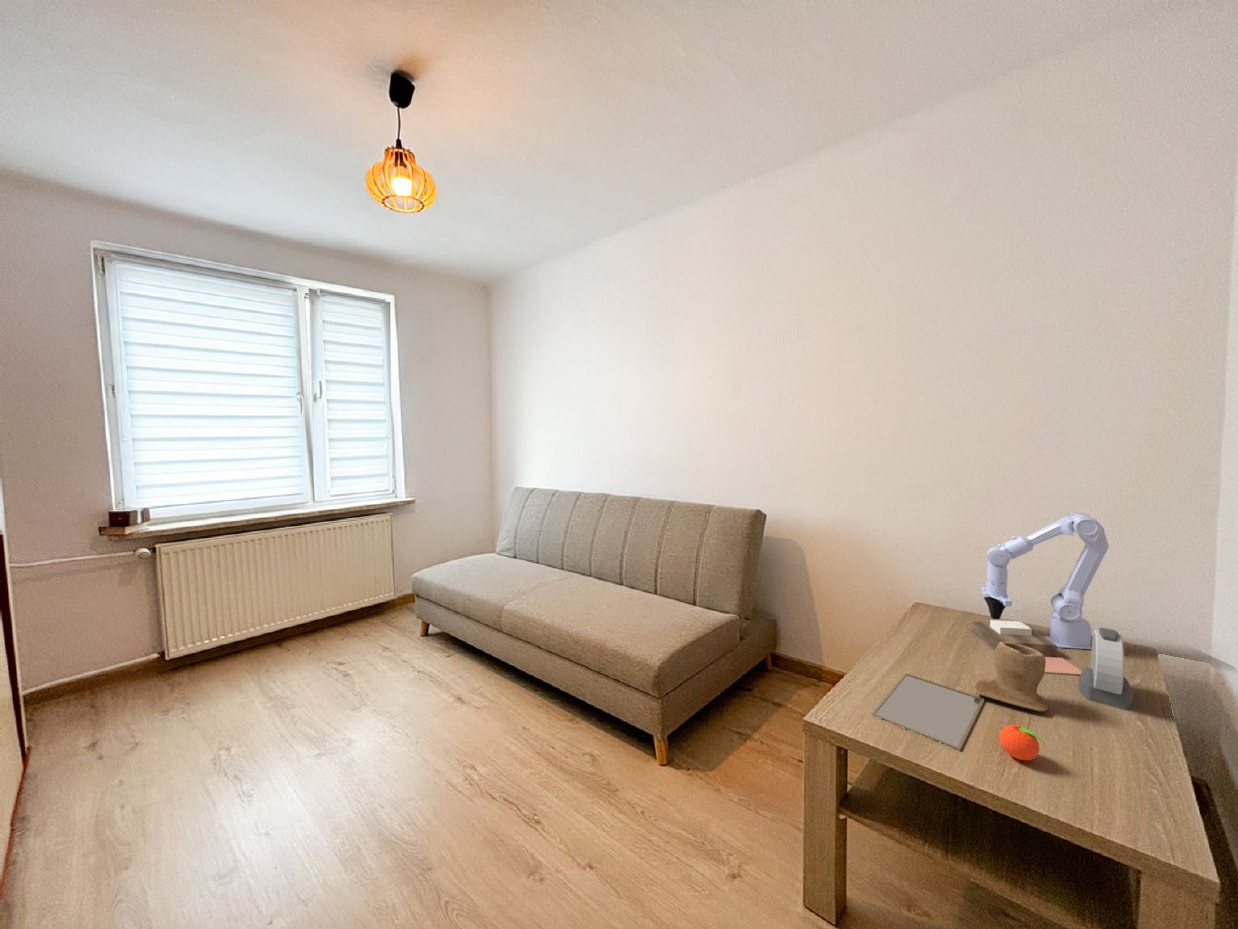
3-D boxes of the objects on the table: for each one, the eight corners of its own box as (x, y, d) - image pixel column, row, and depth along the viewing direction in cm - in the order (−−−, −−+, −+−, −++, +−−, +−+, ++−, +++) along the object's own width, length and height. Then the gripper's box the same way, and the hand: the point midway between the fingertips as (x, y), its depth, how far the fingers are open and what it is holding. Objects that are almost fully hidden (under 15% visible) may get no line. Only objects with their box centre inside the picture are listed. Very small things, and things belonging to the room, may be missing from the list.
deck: (1023, 635, 164) (1024, 624, 164) (1055, 657, 149) (1056, 645, 148) (972, 632, 168) (972, 621, 167) (998, 653, 152) (998, 641, 152)
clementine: (1046, 758, 105) (1047, 728, 105) (1044, 775, 101) (1045, 743, 100) (1000, 742, 111) (1001, 713, 110) (996, 757, 106) (998, 727, 106)
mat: (1061, 659, 147) (1062, 657, 147) (1086, 675, 138) (1086, 674, 138) (996, 655, 151) (996, 653, 151) (1015, 671, 141) (1015, 669, 141)
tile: (1019, 628, 161) (1020, 621, 161) (1031, 636, 155) (1031, 629, 155) (990, 626, 163) (990, 620, 162) (1000, 634, 157) (1000, 627, 157)
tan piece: (1046, 698, 127) (1049, 645, 126) (1048, 720, 118) (1050, 663, 117) (976, 680, 137) (978, 630, 136) (973, 698, 128) (975, 646, 127)
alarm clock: (1136, 716, 119) (1140, 647, 118) (1080, 701, 126) (1083, 635, 124) (1128, 688, 131) (1132, 625, 129) (1077, 676, 138) (1080, 616, 136)
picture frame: (960, 753, 108) (984, 702, 127) (960, 749, 108) (984, 698, 127) (871, 717, 122) (905, 676, 141) (871, 713, 122) (905, 672, 141)
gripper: (973, 574, 174) (971, 609, 175) (995, 587, 160) (994, 626, 161) (994, 575, 173) (993, 610, 174) (1019, 588, 158) (1017, 627, 160)
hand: (995, 618), depth 167 cm, fingers closed
